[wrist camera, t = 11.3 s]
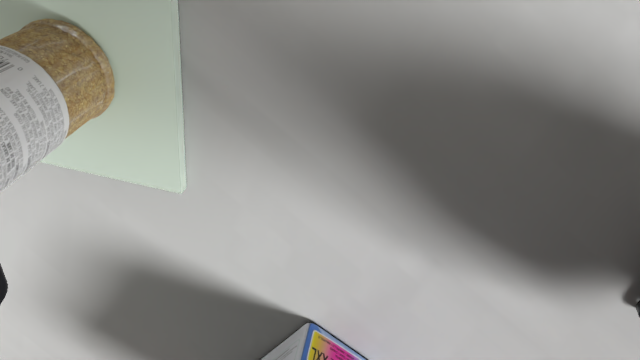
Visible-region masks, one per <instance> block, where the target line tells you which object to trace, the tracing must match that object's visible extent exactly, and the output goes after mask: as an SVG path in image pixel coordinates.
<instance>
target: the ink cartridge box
mask: <svg viewBox="0 0 640 360" xmlns="http://www.w3.org/2000/svg"><path fill="white" fill-rule="evenodd" d="M261 360H366V359H365V358H363V357H362V356H360V355H359V354H357V353H356V352H354V351H353V350H352V349H350V348H349V347H347V346H346V345H344V344H343V343H341V342H340V341H339V340H337V339H336V338H334V337H333V336H331V335H330V334H329V333H327V332H326V331H324V330H323V329H321V328H320V327H319V326H317V325H316V324H313V323H307V324H305V325H304V326H302V327H301V328H300V329H299V330H297V331H296V332H295V333H294V334H292V335H291V336H290V337H289V338H287V339H286V340H285V341H284V342H282V343H281V344H280V345H279V346H277V347H276V348H275V349H273V350H272V351H271V352H270V353H268V354H267V355H266V356H265V357H263V358H262V359H261Z"/></svg>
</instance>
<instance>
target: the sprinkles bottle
mask: <svg viewBox="0 0 640 360" xmlns="http://www.w3.org/2000/svg"><path fill="white" fill-rule="evenodd" d="M114 85H115V81H114V76H113V70H112V68H111V65H110V63H109V60H108V58H107V56H106V55H105V53H104V52H103V51H102V49H101V48H100V47H99V46H98V45H97V44H96V43H95V41H94V40H93V39H92V38H91V37H90V36H88V35H87V34H86V33H85V32H83V31H82V30H81V29H79V28H78V27H76V26H74V25H72V24H70V23H67V22H64V21H61V20H55V19H41V20H36V21H32V22H30V23H29V24H27V25H25V26H24V27H23V28H22V29H20V30H19V31H18V32H15V33H13V34H11V35H8V36H6V37H4V38H2V39H0V192H1V191H3V190H4V189H5V188H7V187H8V186H9V185H11V184H12V183H13V182H15V181H16V180H17V179H18V178H20V177H21V176H22V175H23V174H25V173H26V172H27V171H28V170H30V169H31V168H32V167H33V166H35V165H36V164H37V163H39V162H40V161H41V160H42V159H44V158H45V157H46V156H47V155H49V154H50V153H51V152H52V151H54V150H55V149H56V148H57V147H59V146H60V145H61V144H62V143H63V141H64V140H65V139H66V138H67V137H68V136H70V135H71V134H72V133H74V132H75V131H76V130H77V129H78V128H80V127H81V126H82V125H84V124H85V123H86V122H88V121H89V120H91V119H94V118H96V117H98V116H100V115H101V114H102V113H103V112H105V110H106V109H107V108H108V107H109V105H110V104H111V101H112V100H113V98H114V93H115V90H114Z"/></svg>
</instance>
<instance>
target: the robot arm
mask: <svg viewBox="0 0 640 360" xmlns="http://www.w3.org/2000/svg"><path fill="white" fill-rule="evenodd" d="M7 289H8V284H7V280H6V278H5V275H4V272H3V270H2V267H1V264H0V304H1V303H2V301H3V299H4V298H5V296H6V293H7ZM636 310H637V312H638V315H639V317H640V301H639V302H638V304H637V306H636Z"/></svg>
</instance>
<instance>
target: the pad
mask: <svg viewBox="0 0 640 360" xmlns="http://www.w3.org/2000/svg"><path fill="white" fill-rule="evenodd" d="M41 19H55V20H61V21H64V22H67V23H70V24H72V25H74V26H76V27H78V28H79V29H81V30H82V31H83V32H85V33H86V34H87V35H88V36H90V37H91V38H92V39H93V40H94V41H95V43H96V44H97V45H98V46H99V47H100V48H101V49H102V51H103V52H104V53H105V55H106V56H107V58H108V60H109V63H110V65H111V68H112V70H113V76H114V81H115V85H114V90H115V93H114V98H113V100H112V101H111V104H110V105H109V107H108V108H107V109H106V110H105V112H103V113H102V114H101V115H100V116H98V117H96V118H94V119H91V120H89V121H88V122H86V123H85V124H84V125H82V126H81V127H80V128H78V129H77V130H76V131H75V132H74V133H72V134H71V135H70V136H68V137H67V138H66V139H65V140H64V141H63V143H62V144H61V145H60V146H59V147H57V148H56V149H55V150H54V151H52V152H51V153H50V154H49V155H47V156H46V157H45V158H44V159H42V160H41V161H40V162H42V163H46V164H51V165H55V166H60V167H64V168H68V169H73V170H77V171H82V172H86V173H90V174H95V175H99V176H104V177H108V178H113V179H117V180H121V181H126V182H130V183H135V184H139V185H143V186H148V187H152V188H157V189H161V190H166V191H170V192H174V193H179V194H182V193H183V191H184V190H185V189H186V187H187V185H186V163H185V142H184V120H183V99H182V77H181V56H180V34H179V13H178V0H0V39H2V38H4V37H6V36H8V35H11V34H13V33H15V32H18V31H19V30H20V29H22V28H23V27H24V26H25V25H27V24H29V23H30V22H32V21H36V20H41Z"/></svg>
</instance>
